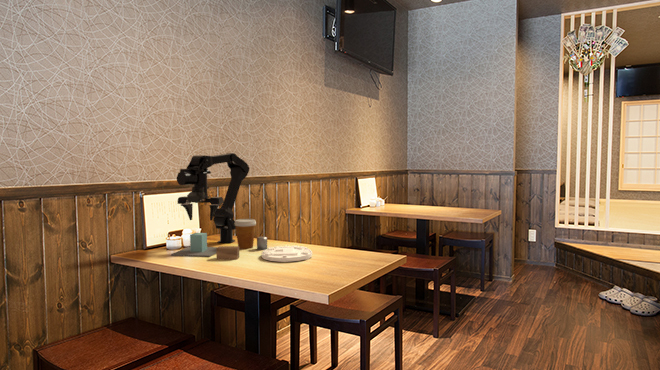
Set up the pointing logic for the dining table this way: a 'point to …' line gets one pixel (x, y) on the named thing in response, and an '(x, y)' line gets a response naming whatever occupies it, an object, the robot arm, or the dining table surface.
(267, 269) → the dining table surface
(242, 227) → the disposable coffee cup
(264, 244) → the metal canister
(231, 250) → the walnut block
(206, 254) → the slate mat
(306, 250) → the white round plaque
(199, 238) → the teal block
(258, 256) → the dining table surface
